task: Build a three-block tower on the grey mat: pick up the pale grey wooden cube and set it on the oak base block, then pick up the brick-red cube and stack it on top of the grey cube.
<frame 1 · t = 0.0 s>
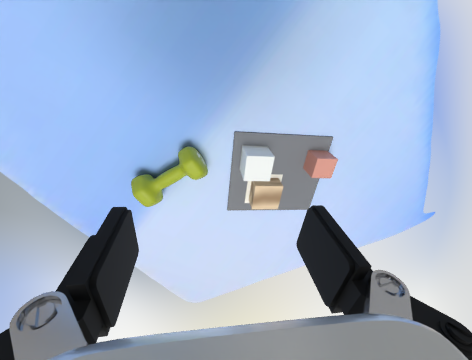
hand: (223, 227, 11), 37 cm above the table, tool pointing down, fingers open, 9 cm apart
oak base: (263, 189, 55), resting on grey mat
grey cube: (253, 157, 50), resting on grey mat
grey mat: (276, 175, 54), on the table
dumbbell: (172, 169, 49), on the table
red cube: (314, 159, 53), resting on grey mat
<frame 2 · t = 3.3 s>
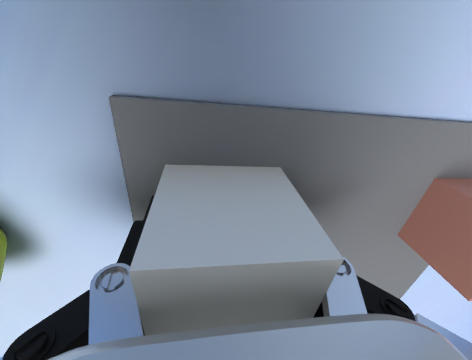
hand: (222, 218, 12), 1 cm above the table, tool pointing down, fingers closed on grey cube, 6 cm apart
grey cube: (221, 211, 12), resting on grey mat, touching gripper
grey mat: (306, 257, 16), on the table
red cube: (443, 208, 15), resting on grey mat
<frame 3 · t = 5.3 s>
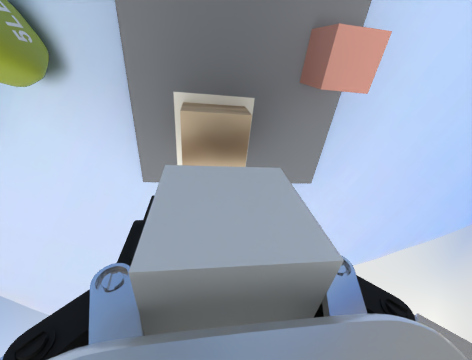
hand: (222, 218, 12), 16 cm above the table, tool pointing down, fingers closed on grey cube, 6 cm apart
oak base: (213, 134, 25), resting on grey mat
grey cube: (221, 211, 12), point 16 cm above the table, touching gripper
grey mat: (240, 100, 24), on the table
red cube: (326, 59, 23), resting on grey mat
when the fingers open (6 cm above the table, at t = 7.6 s): grey cube drops 1 cm, resting on oak base.
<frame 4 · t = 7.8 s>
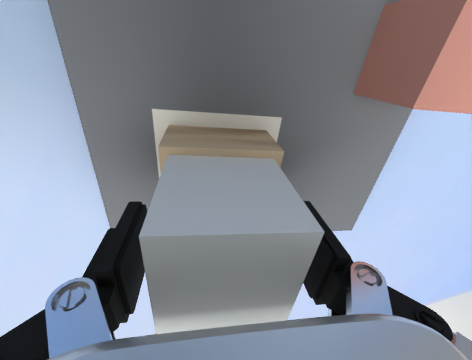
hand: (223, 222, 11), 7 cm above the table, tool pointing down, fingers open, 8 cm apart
oak base: (217, 170, 17), resting on grey mat, touching grey cube
grey cube: (219, 199, 13), point 4 cm above the table, touching oak base
grey mat: (259, 121, 16), on the table
red cube: (399, 57, 14), resting on grey mat
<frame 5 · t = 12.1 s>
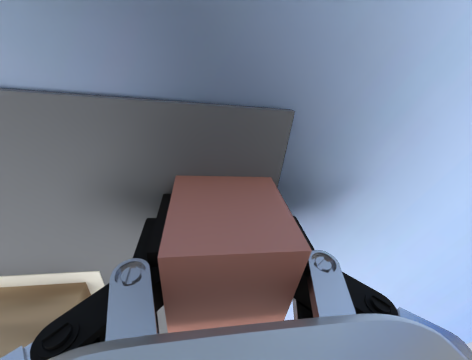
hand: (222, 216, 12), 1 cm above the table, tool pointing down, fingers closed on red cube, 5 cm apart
oak base: (43, 316, 15), resting on grey mat, touching grey cube
grey mat: (78, 271, 13), on the table
red cube: (222, 213, 12), resting on grey mat, touching gripper
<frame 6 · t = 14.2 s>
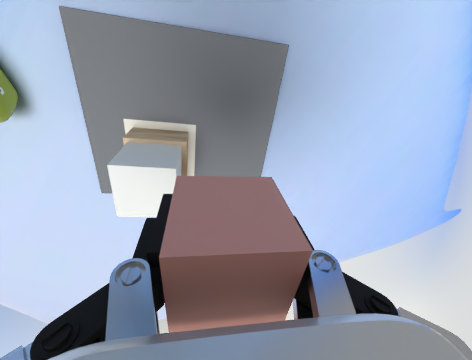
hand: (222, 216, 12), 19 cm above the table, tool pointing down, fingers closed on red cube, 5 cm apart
oak base: (162, 153, 29), resting on grey mat, touching grey cube
grey cube: (156, 166, 26), point 4 cm above the table, touching oak base
grey mat: (184, 126, 28), on the table
red cube: (222, 213, 12), point 19 cm above the table, touching gripper
when the fingers open (12 cm above the table, at t = 16.4 s): red cube drops 1 cm, resting on grey cube.
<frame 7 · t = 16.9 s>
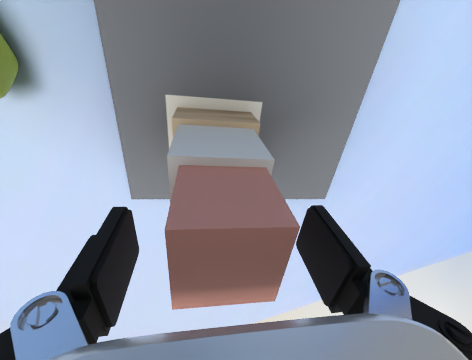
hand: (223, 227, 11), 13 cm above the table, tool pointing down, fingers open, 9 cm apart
oak base: (213, 144, 22), resting on grey mat, touching grey cube
grey cube: (215, 160, 18), point 4 cm above the table, touching oak base, red cube
grey mat: (245, 105, 20), on the table
red cube: (221, 201, 13), point 10 cm above the table, touching grey cube
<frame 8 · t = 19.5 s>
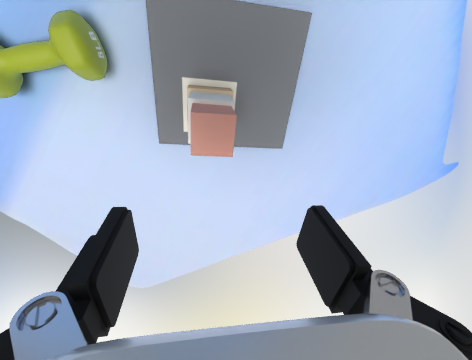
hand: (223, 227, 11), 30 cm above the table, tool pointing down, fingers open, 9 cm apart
oak base: (209, 108, 37), resting on grey mat, touching grey cube
grey cube: (209, 113, 33), point 4 cm above the table, touching oak base, red cube
grey mat: (227, 84, 35), on the table
dumbbell: (52, 56, 31), on the table
red cube: (211, 123, 28), point 10 cm above the table, touching grey cube
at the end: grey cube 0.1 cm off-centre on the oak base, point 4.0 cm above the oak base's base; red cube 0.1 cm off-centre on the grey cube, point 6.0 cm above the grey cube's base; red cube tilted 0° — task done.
